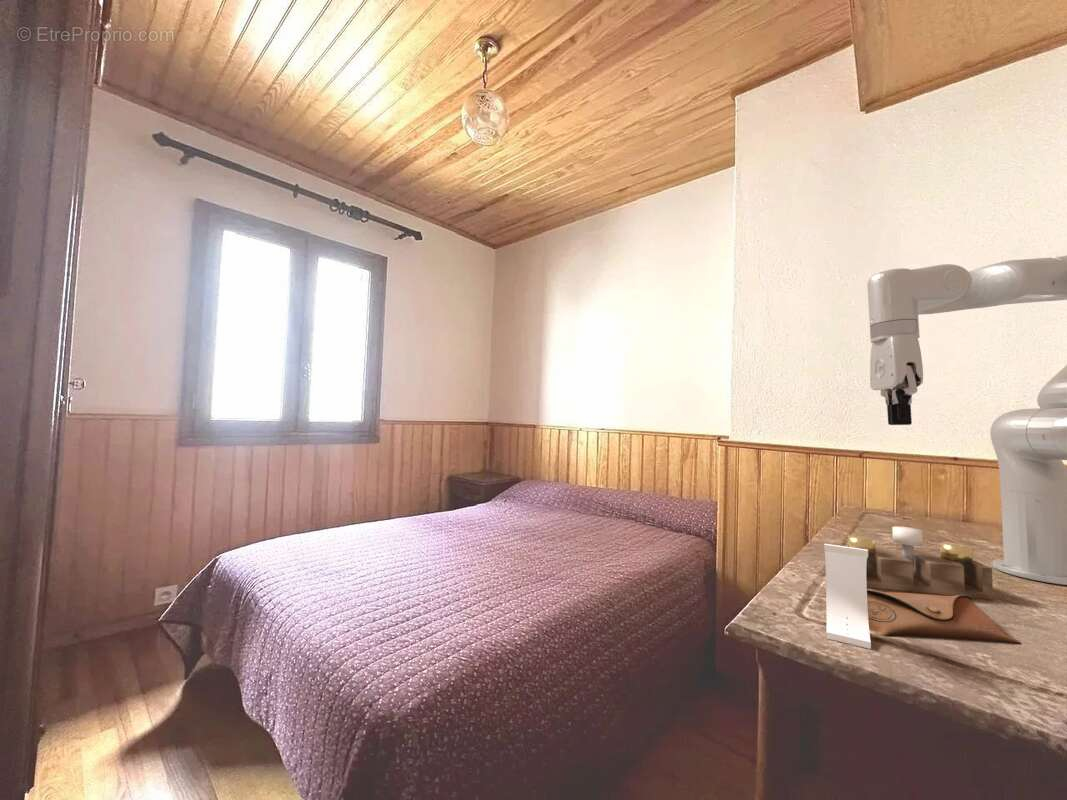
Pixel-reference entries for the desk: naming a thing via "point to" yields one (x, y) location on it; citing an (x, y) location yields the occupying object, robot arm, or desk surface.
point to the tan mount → (928, 574)
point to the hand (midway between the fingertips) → (899, 424)
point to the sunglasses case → (931, 617)
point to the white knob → (907, 540)
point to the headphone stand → (847, 595)
